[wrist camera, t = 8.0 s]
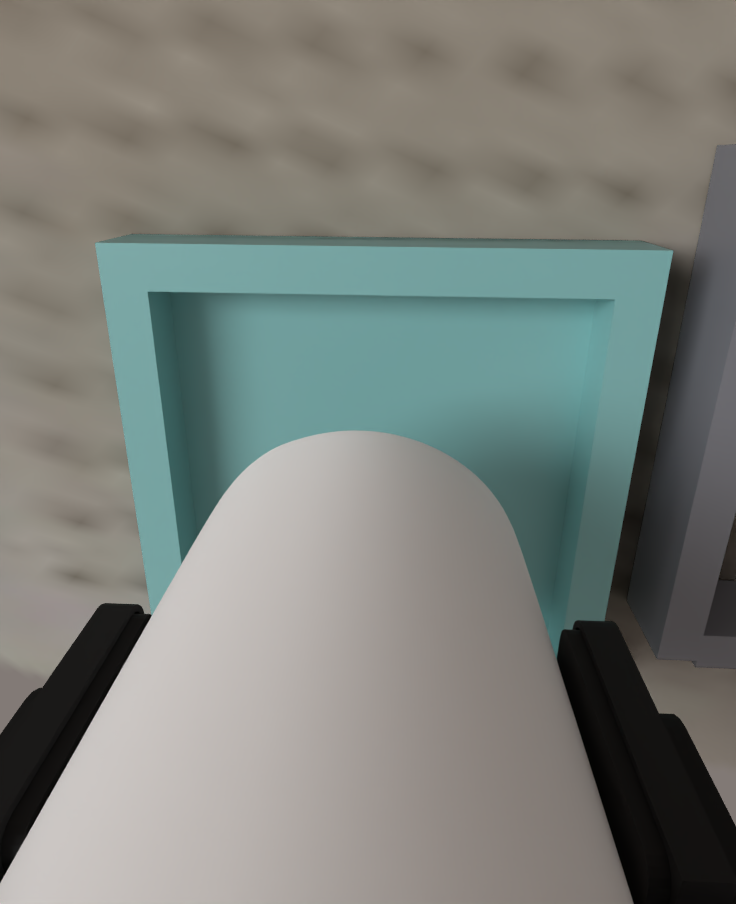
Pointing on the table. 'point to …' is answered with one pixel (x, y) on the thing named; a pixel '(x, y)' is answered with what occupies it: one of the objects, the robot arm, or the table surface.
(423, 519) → the can
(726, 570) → the table surface
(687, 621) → the bay
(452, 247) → the tray
